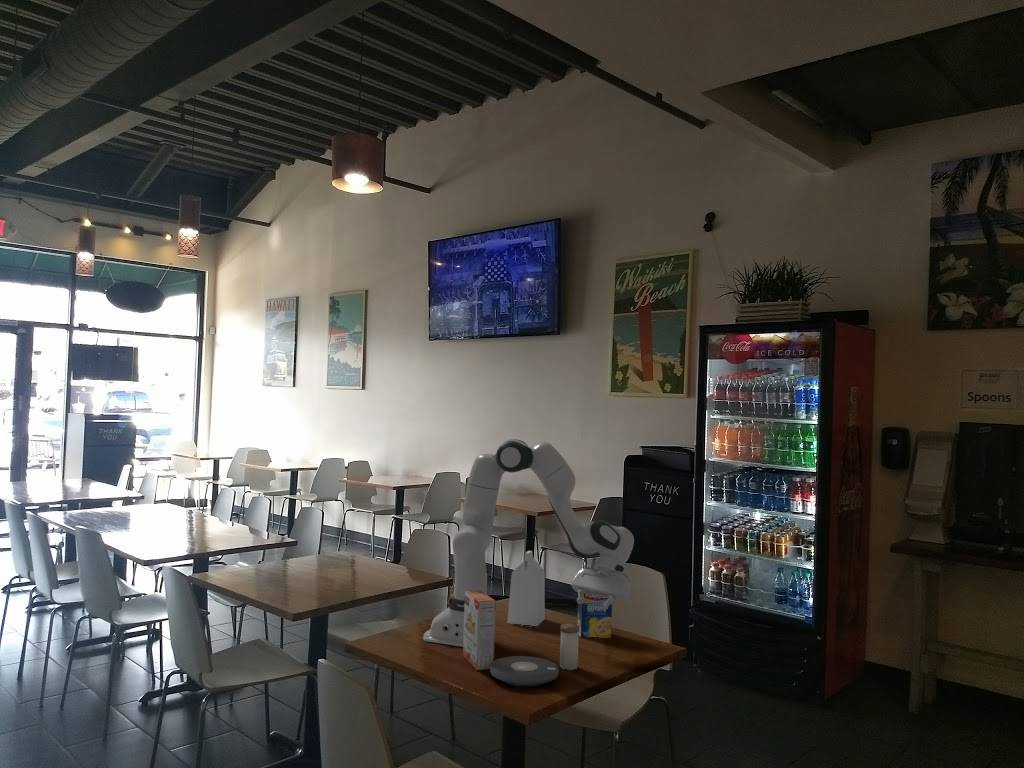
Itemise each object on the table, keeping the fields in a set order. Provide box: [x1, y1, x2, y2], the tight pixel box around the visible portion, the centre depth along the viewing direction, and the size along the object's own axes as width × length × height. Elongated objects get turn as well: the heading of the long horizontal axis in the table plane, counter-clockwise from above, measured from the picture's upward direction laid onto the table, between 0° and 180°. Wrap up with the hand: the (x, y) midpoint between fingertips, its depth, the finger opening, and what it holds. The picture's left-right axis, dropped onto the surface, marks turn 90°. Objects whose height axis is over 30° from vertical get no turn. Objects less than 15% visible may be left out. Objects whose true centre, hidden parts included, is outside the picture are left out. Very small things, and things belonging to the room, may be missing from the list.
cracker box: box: [462, 590, 497, 671], centre depth 235 cm, size 14×6×21 cm, turn 21°
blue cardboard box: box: [577, 593, 613, 639], centre depth 271 cm, size 7×11×22 cm, turn 96°
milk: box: [506, 550, 546, 627], centre depth 286 cm, size 12×12×26 cm
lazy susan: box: [489, 655, 559, 684], centre depth 223 cm, size 20×20×2 cm
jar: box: [559, 623, 580, 671], centre depth 235 cm, size 6×6×12 cm
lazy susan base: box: [502, 681, 545, 688], centre depth 222 cm, size 14×14×2 cm
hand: (591, 605), depth 245 cm, fingers open, 8 cm apart
